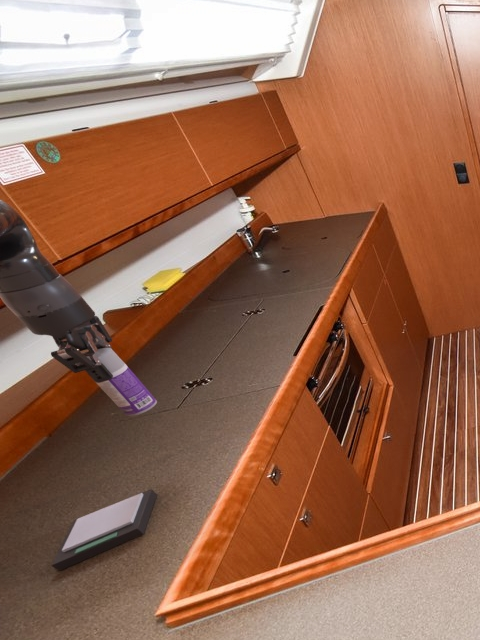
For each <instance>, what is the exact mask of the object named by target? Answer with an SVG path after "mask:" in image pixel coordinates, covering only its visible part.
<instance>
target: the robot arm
mask: <svg viewBox="0 0 480 640" xmlns="http://www.w3.org/2000/svg"><path fill="white" fill-rule="evenodd" d="M33 235H34V234H33V233H32V232H31V229H30V227H29V226H28V225H27V222H26V221H25V220H24V218H23V217H22V216H21V214H20V213H19V212H18V211H17V210H16V209H15V208H14V207H12V206H11V205H10V204H8V203H7V202H6V201H4V200H2V199H0V299H1V301H2V303H3V304H4V305H5V306H6V307H7V308H8V309H9V310H10V311H11V313H13V314H14V316H16V317H17V319H18V320H19V321H21V323H22V324H23V325H24V326H25V327H26V328H27V329H28V330H29V331H30V332H31V333H32V334H34V335H36V336H48V337H49V336H50V337H52V339H53V341H54V342H55V344H56V346H57V347H58V349H57V350H54V351H50V356H51V358H53V359H55V360H56V361H57V362H59V363H60V364H61V365H63V366H64V367H66V368H67V369H68V370H70V371H71V372H72V373H74V374H77V373H78V374H79V373H81V372H86V373H87V375H89V377H90V378H91V379H92V380H93V381H94V383H96V382H97V383H101V382H104V381H108V380H111V379H112V377H113V375H112V374H111V373H110V371H109V370H108V369H107V368H106V367H105V366H104V365H103V364H102V363H101V361H100V360H99V358H98V356H97V355H96V354H97V353H98V349H101V348H111V349H112V345H111V344H110V343H112V342H113V338H112V337H111V335H110V334H109V332H108V331H107V329H106V328H105V326H104V324H103V322H102V321H101V319H100V318H99V316H97V315H96V312H95V310H93V308H92V307H91V305H89V303H88V302H87V301H86V300H85V299H84V298H83V297H82V295H81V294H80V293H79V292H78V290H77V289H76V288H75V286H74V285H72V284H71V282H69V280H67V279H66V278H65V277H64V276H63V275H62V274H61V273H60V272H59V271H58V270H57V268H55V267H54V265H53V264H52V263H51V261H50V260H49V259H48V258H47V257H46V256H45V255H44V254H43V253H42V251H41V250H40V248H39V246H38V244H37V241H36V239H35V237H34V236H33ZM84 351H85V352H84ZM86 356H88V357H90V359H91V360H92V361H91V360H90V359H89V358H87V357H86ZM97 383H96V384H97Z"/></svg>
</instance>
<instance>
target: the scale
mask: <svg viewBox="0 0 480 640" xmlns="http://www.w3.org/2000/svg"><path fill="white" fill-rule="evenodd" d="M157 496H158V493H156V492H155V491H154V489H152V488H150V489H148V490H145V491H142V492H141V493H138V494H135V495H132V496H130V497H128V498H126V499H123V500H120V501H118V502H116V503H113V504H109V505H108V506H104V507H103V508H100V509H98V510H96V511H93V512H91V513H88V514H86V515H83V516H80V517H79V518H76V519H73V521H72V523H71V524H70V527H69V529H68V531H67V532H66V535H65V537H64V539H63V540H62V543H61V544H60V547H59V549H58V551H57V553H56V555H55V557H54V559H53V560H52V563H51V567H52V568H54V569H55V570H57V571H58V572H60V571H62V570H64V569H67V568H70V567H71V566H74V565H76V564H78V563H81V562H83V561H85V560H87V559H90V558H92V557H94V556H97V555H99V554H101V553H104V552H106V551H108V550H110V549H112V548H115V547H118V546H120V545H122V544H125V543H126V542H130V541H131V540H133V539H135V538H138V537H140V536H143V535H145V531H146V528H147V526H148V523H149V520H150V517H151V514H152V511H153V508H154V506H155V502H156V499H157Z"/></svg>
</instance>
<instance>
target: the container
mask: <svg viewBox="0 0 480 640" xmlns="http://www.w3.org/2000/svg"><path fill="white" fill-rule="evenodd" d="M96 355H97V356H98V358H99V360H100V361H101V363H102V364H103V365H104V366H105V367H106V368H107V369H108V370H109V371H110V373H111V374H112V375H113V377H112V379H111V380H108V381H104V382H101V383H97V382H95V383H96V384H97V386H98V387H99V388H100V389H101V390H102V391H103V392H104V393H105V394H106V396H108V397H109V398H110V400H111V401H112V402H113V403H114V404H115V405H116V406H117V408H119V409H120V410H121V411H122V413H123V414H125V415H126V416H127V417H134V416H139V415H141V414H144V413H146V412H148V411H150V410H151V409H153V408H154V407H155V406H156V405H157V403H158V401H157V400H156V398H155V397H154V396H153V394H152V393H151V392H150V391H149V390H148V389H147V387H146V386H145V385H144V384H143V383H142V382H141V380H140V379H139V377H137V376H136V375H135V373H134V372H133V371H132V370H131V368H129V367H128V365H127V364H126V363H125V362H124V361H123V360H122V359H121V357H119V355H118V354H117V353H116V352H115V351H114V350H113V349H112V347H111V348H101V349H98V353H97V354H96ZM86 357H87V358H89V359H90V357H88V356H86ZM90 360H91V359H90ZM91 361H92V360H91Z"/></svg>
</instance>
